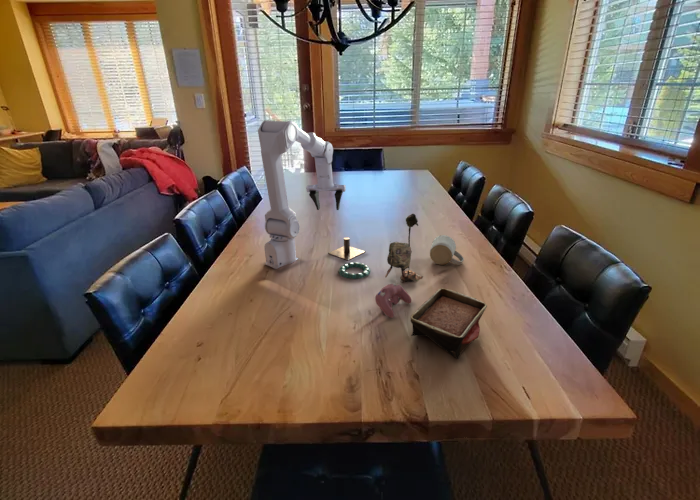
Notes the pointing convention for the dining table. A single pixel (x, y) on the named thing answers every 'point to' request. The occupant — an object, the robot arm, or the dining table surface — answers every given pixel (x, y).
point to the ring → (354, 276)
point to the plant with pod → (403, 255)
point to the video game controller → (391, 298)
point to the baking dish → (449, 320)
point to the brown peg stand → (347, 251)
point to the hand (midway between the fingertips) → (328, 208)
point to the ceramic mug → (444, 251)
